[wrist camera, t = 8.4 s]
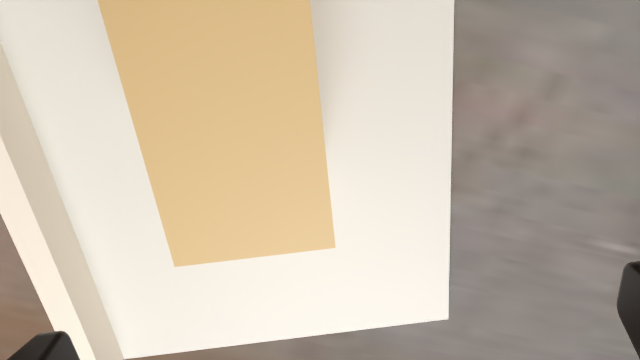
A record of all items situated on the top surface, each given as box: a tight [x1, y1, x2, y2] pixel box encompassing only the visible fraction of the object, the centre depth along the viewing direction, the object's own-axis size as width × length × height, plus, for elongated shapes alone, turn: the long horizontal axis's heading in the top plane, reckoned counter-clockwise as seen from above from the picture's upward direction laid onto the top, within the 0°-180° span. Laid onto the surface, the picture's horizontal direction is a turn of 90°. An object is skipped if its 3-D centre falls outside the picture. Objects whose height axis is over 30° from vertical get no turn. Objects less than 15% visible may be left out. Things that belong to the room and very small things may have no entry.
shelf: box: [0, 0, 454, 360], centre depth 18 cm, size 23×15×3 cm, turn 6°
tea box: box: [98, 0, 336, 267], centre depth 16 cm, size 5×8×5 cm, turn 5°
